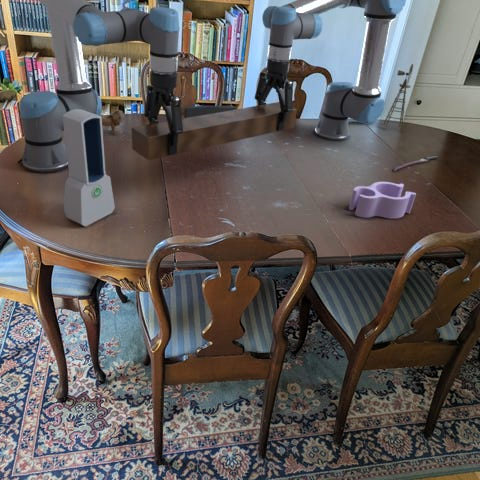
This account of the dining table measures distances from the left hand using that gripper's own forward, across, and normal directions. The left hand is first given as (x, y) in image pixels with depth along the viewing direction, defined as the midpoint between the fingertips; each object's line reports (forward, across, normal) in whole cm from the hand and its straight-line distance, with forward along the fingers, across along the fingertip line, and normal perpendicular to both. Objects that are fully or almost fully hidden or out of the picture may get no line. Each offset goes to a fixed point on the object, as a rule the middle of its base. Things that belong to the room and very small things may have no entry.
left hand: (162, 148), depth 140 cm
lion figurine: (+17, +57, -10) cm, 60 cm away
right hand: (0, 0, -45) cm, 45 cm away
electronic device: (+16, 0, +24) cm, 29 cm away
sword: (+16, -30, -102) cm, 108 cm away
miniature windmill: (+16, +2, -134) cm, 135 cm away
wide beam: (+1, 0, -22) cm, 22 cm away
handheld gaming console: (+17, +40, -51) cm, 67 cm away
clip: (+15, -45, -55) cm, 72 cm away
